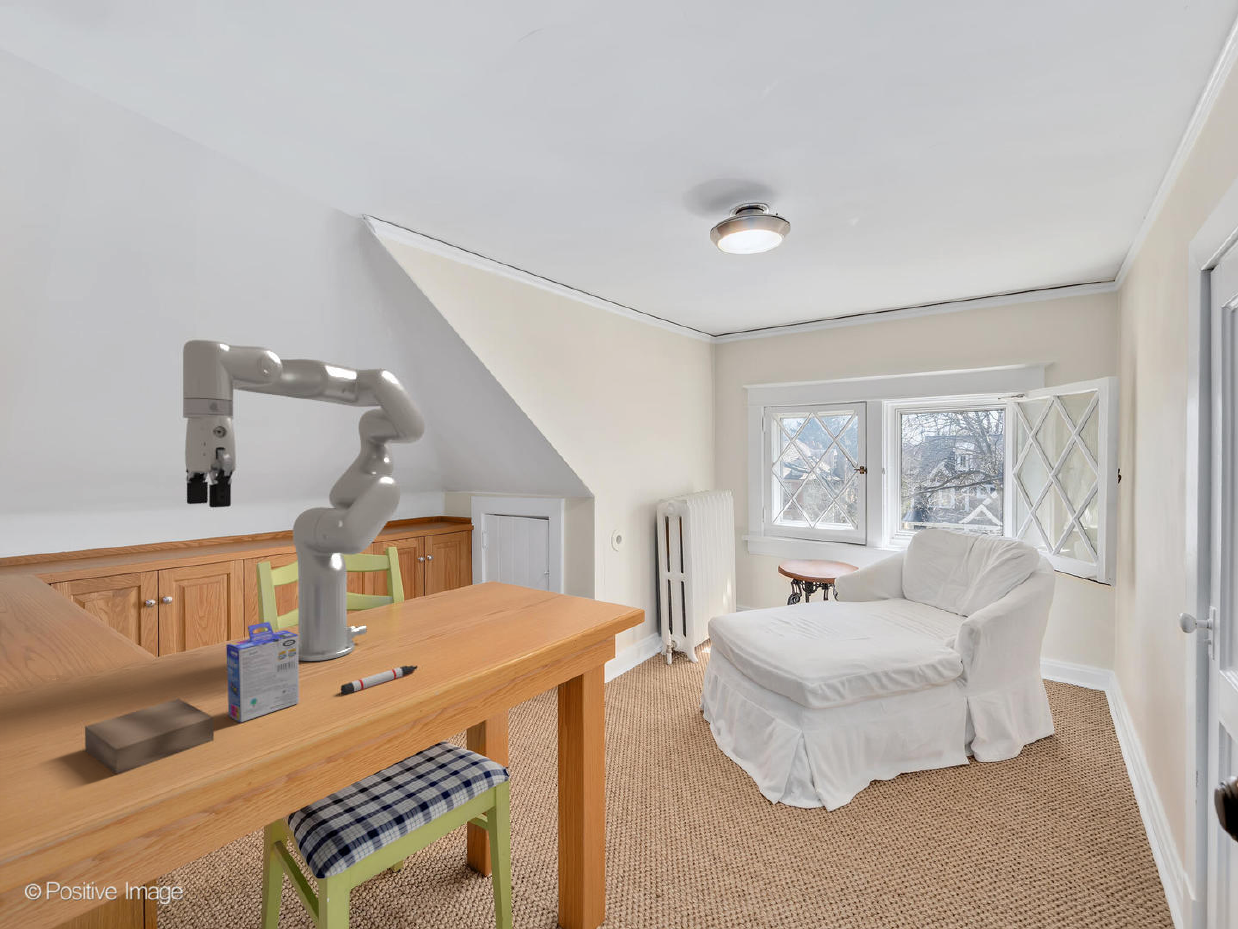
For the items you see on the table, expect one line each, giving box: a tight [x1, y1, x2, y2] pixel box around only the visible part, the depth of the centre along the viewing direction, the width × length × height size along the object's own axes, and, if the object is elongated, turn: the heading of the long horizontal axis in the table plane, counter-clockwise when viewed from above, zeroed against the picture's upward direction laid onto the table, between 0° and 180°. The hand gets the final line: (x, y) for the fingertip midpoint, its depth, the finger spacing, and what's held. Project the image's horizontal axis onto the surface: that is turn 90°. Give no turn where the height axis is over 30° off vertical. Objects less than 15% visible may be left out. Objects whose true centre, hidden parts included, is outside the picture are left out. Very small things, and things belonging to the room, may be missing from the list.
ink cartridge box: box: [225, 621, 300, 723], centre depth 104 cm, size 10×6×14 cm, turn 145°
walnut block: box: [84, 698, 215, 776], centre depth 91 cm, size 12×12×4 cm
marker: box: [340, 665, 419, 696], centre depth 117 cm, size 15×2×2 cm, turn 141°
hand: (208, 505), depth 110 cm, fingers open, 9 cm apart
